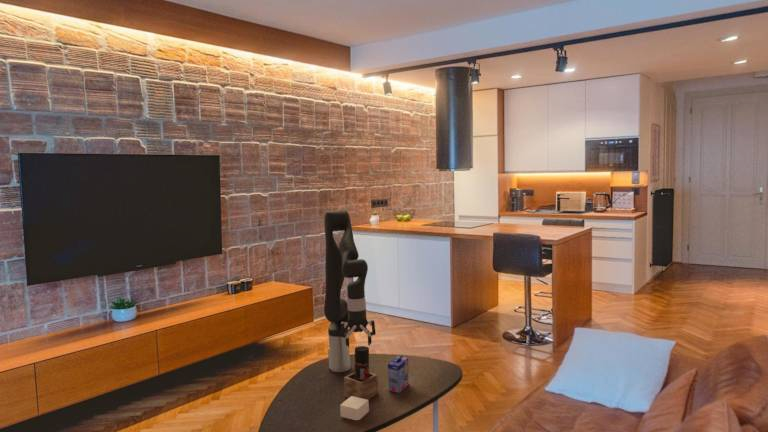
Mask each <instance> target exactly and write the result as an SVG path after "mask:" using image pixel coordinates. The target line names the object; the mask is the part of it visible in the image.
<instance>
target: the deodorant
mask: <svg viewBox="0 0 768 432" xmlns="http://www.w3.org/2000/svg"><path fill="white" fill-rule="evenodd" d="M354 372H355V380H358V381H363V380H365V379H367V378H369V372H370V347H368V346H364V345H362V346H361V345H360V346H356V347H354Z"/></svg>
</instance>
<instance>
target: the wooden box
mask: <svg viewBox="0 0 768 432" xmlns="http://www.w3.org/2000/svg"><path fill="white" fill-rule="evenodd" d="M343 385H344V397H346V398H347V399H348V398H349V397H351V396H354V397H358V398H362V399H367V400H368V401H369V399H371V398H373V397H374V396H377V395H379V377H378V374H377V373H374V372H371V371H369V378H367V379H365V380H363V381H358V380H355V371H353V372H351V373H350V374H347V375H346V376H343Z"/></svg>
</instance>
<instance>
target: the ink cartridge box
mask: <svg viewBox="0 0 768 432" xmlns="http://www.w3.org/2000/svg"><path fill="white" fill-rule="evenodd" d="M403 355H404V354H401V355H397V356H396V357H395V358H393V359H392V360H391V361H389V363H388V364H387V373H388V374H387V376H388V377H387V378H388V379H387V380H388V381H387V382H388V391H389V392H394V393H396V394H400V393H401V392H402V391H403V390H405V388H406V387H408V385H409V357H406V356H403Z"/></svg>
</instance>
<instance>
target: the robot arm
mask: <svg viewBox="0 0 768 432" xmlns="http://www.w3.org/2000/svg"><path fill="white" fill-rule="evenodd" d="M323 219H324V221H323V222H324V224H323V225H324V236H325V265H324V266H325V267H324V268H325V270H324V271H325V294H324V295H325V298H324V305H323V307H324V308H323V312H324V317H325V318H326V320H327V321H328V322H329V323H330V324H329V327H328V329H327V332H328V347H329V348H328V349H327V355H328V369H330V371H332V372H334V373H343V372H347V371H349V370H350V369H351V357H350V337H351V335H352V334H353V332H354V333H358V332H359V333H363V332H364V333H365V334H366V335H367V344H368V346H370V345H371V344H372V341H373V340H372V336H375V335H376V332H377V331H376V325H375V319H373V318H372V319H371V320H368V319H367V302H366V292H365V285H366V284H365V283H366V279H367V275H368V270H369V269H368V267H369V265H368V263H367V262H366V260H365V259H362V258H360V259H359V255H360V254H359V251H358V248H357V246H356V243H355V239H354V234H353V227H352V221H351V216H350V215H349V212H348V211H347V210H340V209H339V210H338V209H337V210H336V209H335V210H327V211H326V212H325V213H324V218H323ZM340 231H344V233H343V234H342V237H341V239H340V240H339V244H337V242H336V240H335V237H334V232H340ZM345 278H347V279H353V278H356V280H355V281H352V282H349V283H348V284H347V286H346V293H347V301H346V300H345V299H343V298H341V293H342V287H343V284H344V281H345ZM368 325H369V326H370V327H371V331H370V330H369V329H368V327H367V326H368Z"/></svg>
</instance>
